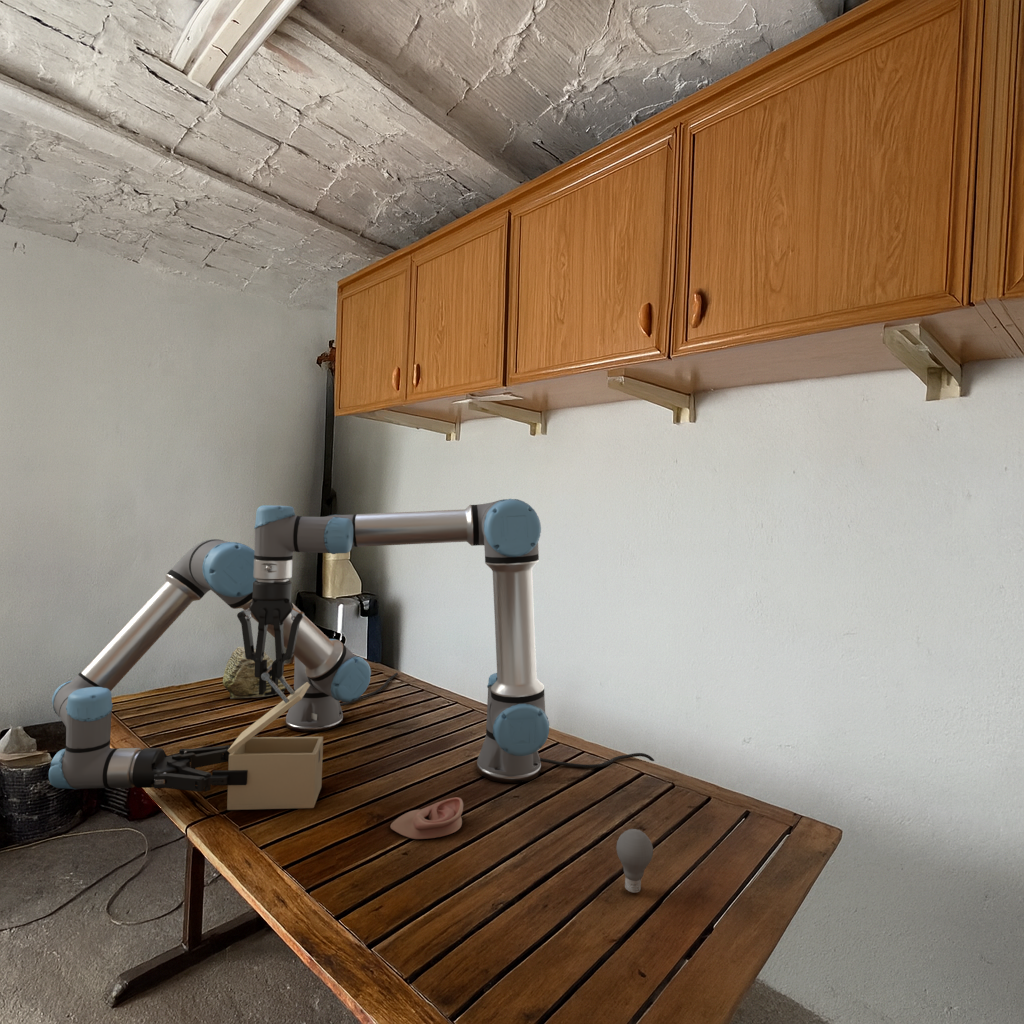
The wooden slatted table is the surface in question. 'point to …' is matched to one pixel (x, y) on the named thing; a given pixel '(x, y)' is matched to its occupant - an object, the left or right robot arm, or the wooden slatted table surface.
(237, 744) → the lid
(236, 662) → the fossil
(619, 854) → the light bulb
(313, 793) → the chest
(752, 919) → the wooden slatted table surface
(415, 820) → the anatomical model
